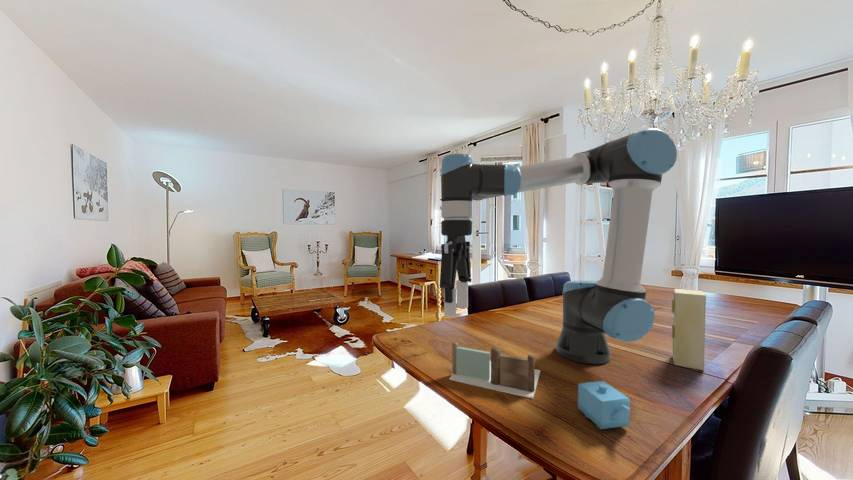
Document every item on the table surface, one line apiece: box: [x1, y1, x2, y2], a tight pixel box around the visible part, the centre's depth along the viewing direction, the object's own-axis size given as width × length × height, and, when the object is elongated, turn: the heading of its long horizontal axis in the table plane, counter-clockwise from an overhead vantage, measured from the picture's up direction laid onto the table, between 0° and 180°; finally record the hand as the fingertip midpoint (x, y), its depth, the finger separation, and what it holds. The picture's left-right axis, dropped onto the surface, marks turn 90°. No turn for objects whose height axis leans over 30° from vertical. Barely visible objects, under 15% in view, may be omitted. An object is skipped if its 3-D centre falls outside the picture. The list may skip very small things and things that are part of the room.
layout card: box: [448, 360, 541, 400], centre depth 84 cm, size 21×15×1 cm
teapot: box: [577, 380, 631, 430], centre depth 64 cm, size 12×6×8 cm, turn 10°
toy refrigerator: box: [671, 288, 707, 371], centre depth 91 cm, size 8×7×21 cm
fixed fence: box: [490, 347, 536, 392], centre depth 78 cm, size 11×2×9 cm, turn 64°
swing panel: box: [451, 341, 491, 381], centre depth 83 cm, size 10×2×8 cm, turn 64°
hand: (456, 311), depth 78 cm, fingers open, 8 cm apart
